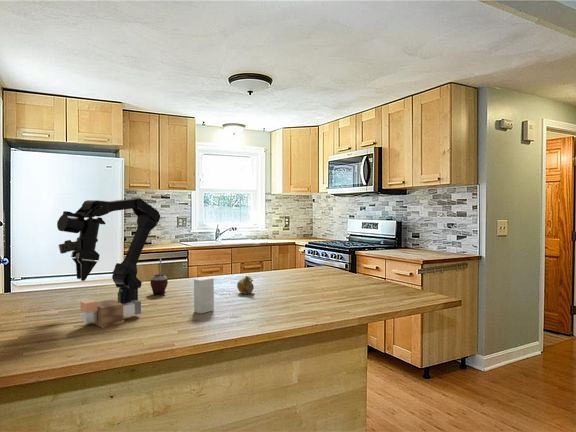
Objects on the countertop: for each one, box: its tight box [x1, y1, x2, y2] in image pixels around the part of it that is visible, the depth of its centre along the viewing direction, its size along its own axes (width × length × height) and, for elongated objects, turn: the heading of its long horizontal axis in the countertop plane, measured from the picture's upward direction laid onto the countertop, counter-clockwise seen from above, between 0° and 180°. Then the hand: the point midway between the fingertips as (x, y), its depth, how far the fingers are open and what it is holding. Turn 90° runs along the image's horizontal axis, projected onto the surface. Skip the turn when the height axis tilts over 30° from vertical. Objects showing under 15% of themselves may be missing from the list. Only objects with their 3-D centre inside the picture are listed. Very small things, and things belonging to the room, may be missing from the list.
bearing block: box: [92, 299, 125, 329], centre depth 132 cm, size 7×10×6 cm
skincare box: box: [193, 276, 215, 314], centre depth 147 cm, size 6×4×12 cm
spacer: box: [79, 298, 99, 313], centre depth 128 cm, size 4×4×3 cm
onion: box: [236, 275, 255, 295], centre depth 177 cm, size 8×8×8 cm
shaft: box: [82, 299, 142, 325], centre depth 134 cm, size 18×3×4 cm, turn 137°
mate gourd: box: [150, 257, 169, 296], centre depth 175 cm, size 8×8×15 cm
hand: (80, 279), depth 140 cm, fingers open, 9 cm apart
